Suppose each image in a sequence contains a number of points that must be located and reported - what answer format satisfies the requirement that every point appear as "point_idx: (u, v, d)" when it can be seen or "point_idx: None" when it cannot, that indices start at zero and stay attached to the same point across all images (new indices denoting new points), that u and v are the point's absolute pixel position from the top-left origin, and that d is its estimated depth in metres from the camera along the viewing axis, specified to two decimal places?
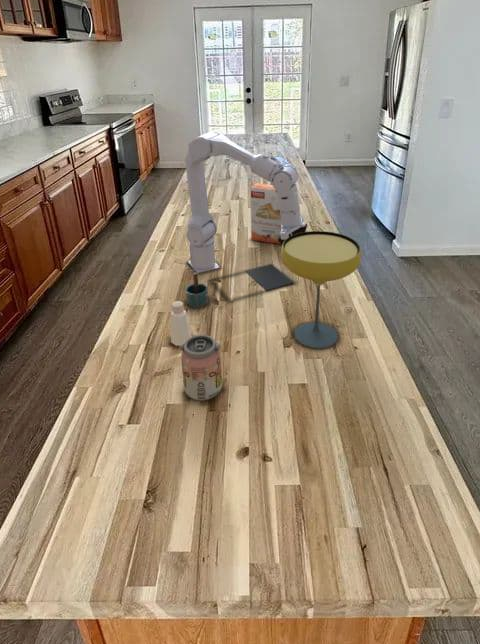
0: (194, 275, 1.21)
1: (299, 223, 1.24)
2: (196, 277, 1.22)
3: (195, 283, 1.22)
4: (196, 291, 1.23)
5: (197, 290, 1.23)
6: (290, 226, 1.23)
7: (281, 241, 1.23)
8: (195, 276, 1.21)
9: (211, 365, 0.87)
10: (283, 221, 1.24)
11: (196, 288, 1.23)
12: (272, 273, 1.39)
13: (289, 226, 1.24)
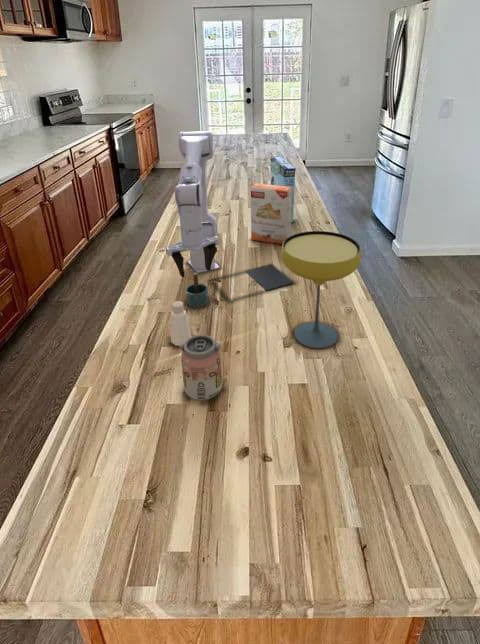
0: (194, 275, 1.21)
1: (192, 245, 1.15)
2: (196, 277, 1.22)
3: (195, 283, 1.22)
4: (196, 291, 1.23)
5: (197, 290, 1.23)
6: (183, 244, 1.16)
7: None
8: (195, 276, 1.21)
9: (211, 365, 0.87)
10: None
11: (196, 288, 1.23)
12: (272, 273, 1.39)
13: (182, 244, 1.16)
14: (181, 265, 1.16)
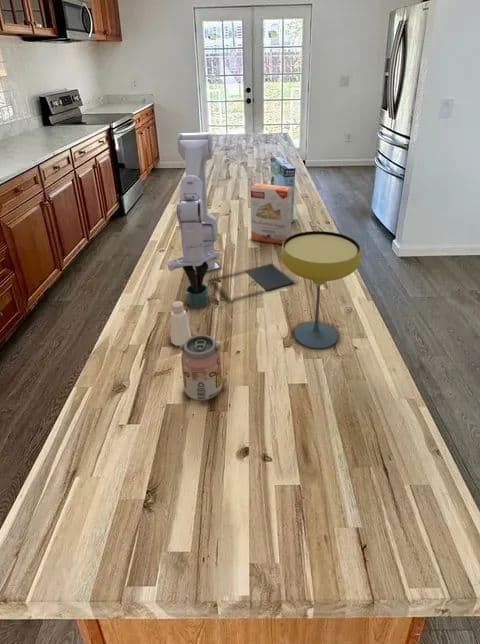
0: None
1: (194, 260, 1.17)
2: (196, 277, 1.22)
3: (195, 283, 1.22)
4: (196, 291, 1.23)
5: (197, 290, 1.23)
6: (184, 259, 1.18)
7: (182, 267, 1.21)
8: (195, 276, 1.21)
9: (211, 365, 0.87)
10: None
11: (196, 288, 1.23)
12: (272, 273, 1.39)
13: (184, 259, 1.18)
14: (193, 277, 1.20)
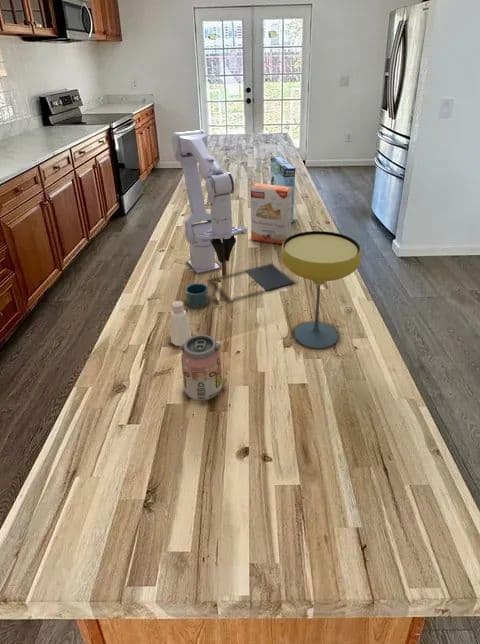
0: None
1: (222, 234, 1.20)
2: (224, 251, 1.24)
3: None
4: (223, 265, 1.26)
5: (225, 264, 1.26)
6: (213, 233, 1.21)
7: (210, 241, 1.24)
8: (223, 250, 1.24)
9: (211, 365, 0.87)
10: None
11: (223, 262, 1.26)
12: (272, 273, 1.39)
13: (213, 232, 1.21)
14: (221, 251, 1.23)
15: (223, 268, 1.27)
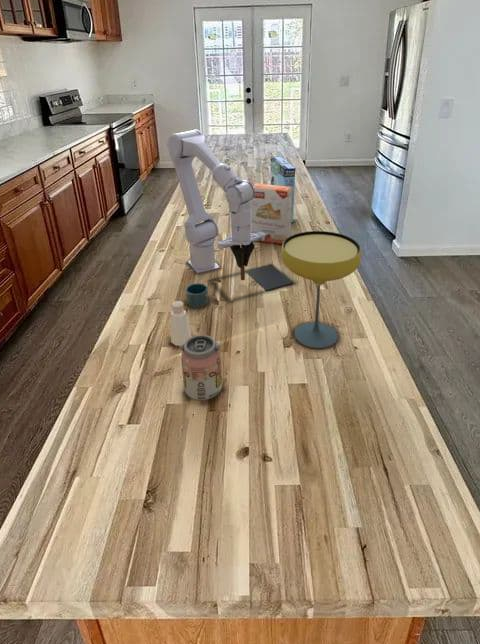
0: None
1: (242, 240, 1.25)
2: (243, 256, 1.30)
3: (242, 262, 1.30)
4: (242, 270, 1.31)
5: (243, 269, 1.31)
6: (233, 239, 1.26)
7: (230, 247, 1.29)
8: (242, 255, 1.29)
9: (211, 365, 0.87)
10: None
11: (242, 267, 1.31)
12: (272, 273, 1.39)
13: (233, 239, 1.26)
14: (240, 256, 1.28)
15: (242, 273, 1.32)
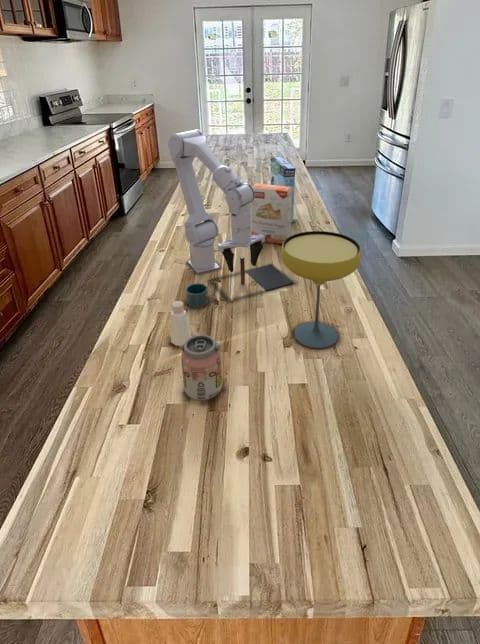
0: (241, 259, 1.30)
1: (242, 242, 1.25)
2: (243, 261, 1.30)
3: (242, 266, 1.31)
4: (242, 274, 1.32)
5: (243, 273, 1.32)
6: (233, 241, 1.26)
7: None
8: (242, 260, 1.30)
9: (211, 365, 0.87)
10: None
11: (242, 271, 1.32)
12: (272, 273, 1.39)
13: (233, 241, 1.26)
14: (231, 261, 1.27)
15: (242, 277, 1.32)
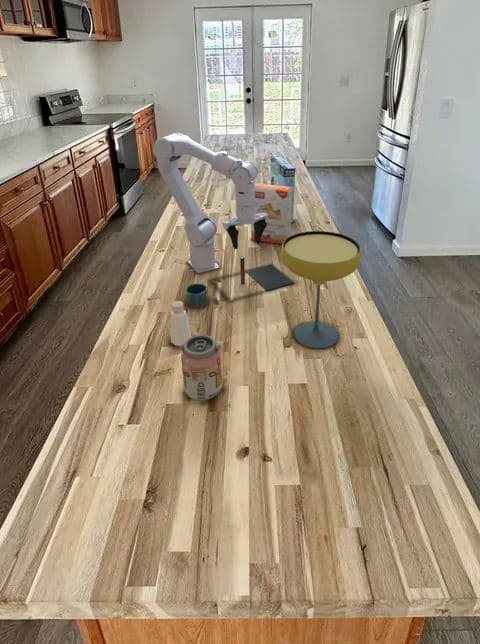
0: (241, 259, 1.30)
1: (247, 219, 1.29)
2: (243, 261, 1.30)
3: (242, 266, 1.31)
4: (242, 274, 1.32)
5: (243, 273, 1.32)
6: (238, 219, 1.30)
7: (226, 228, 1.32)
8: (242, 260, 1.30)
9: (211, 365, 0.87)
10: (236, 212, 1.31)
11: (242, 271, 1.32)
12: (272, 273, 1.39)
13: (237, 218, 1.30)
14: (236, 238, 1.31)
15: (242, 277, 1.32)
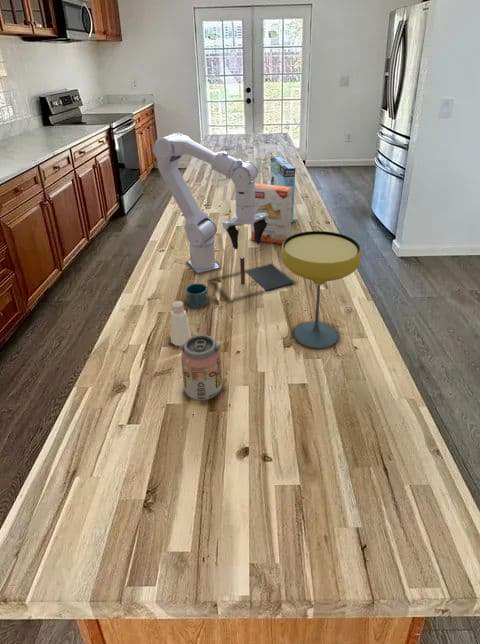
0: (241, 259, 1.30)
1: (247, 219, 1.29)
2: (243, 261, 1.30)
3: (242, 266, 1.31)
4: (242, 274, 1.32)
5: (243, 273, 1.32)
6: (238, 219, 1.30)
7: (226, 228, 1.32)
8: (242, 260, 1.30)
9: (211, 365, 0.87)
10: (236, 212, 1.31)
11: (242, 271, 1.32)
12: (272, 273, 1.39)
13: (237, 218, 1.30)
14: (236, 238, 1.31)
15: (242, 277, 1.32)
